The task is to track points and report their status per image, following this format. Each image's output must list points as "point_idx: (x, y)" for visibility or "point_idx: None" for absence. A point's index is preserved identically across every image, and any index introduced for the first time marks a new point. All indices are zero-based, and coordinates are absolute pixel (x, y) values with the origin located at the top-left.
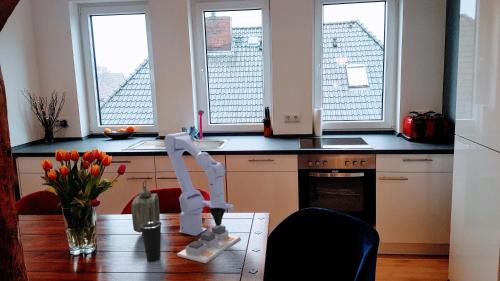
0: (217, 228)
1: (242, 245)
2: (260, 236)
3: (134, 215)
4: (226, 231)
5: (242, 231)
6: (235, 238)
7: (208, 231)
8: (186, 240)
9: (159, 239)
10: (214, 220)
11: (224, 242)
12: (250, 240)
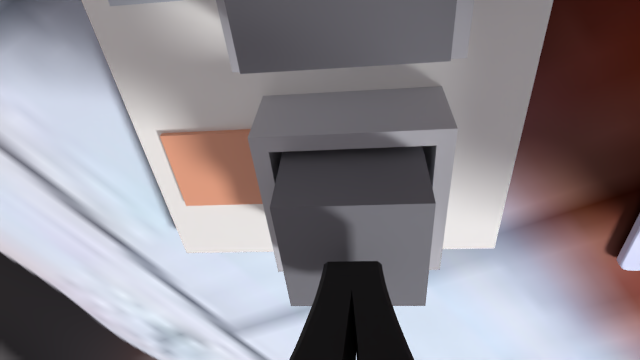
0: (329, 218)
1: (54, 144)
2: (112, 310)
3: None
4: (273, 245)
5: (287, 325)
6: (183, 207)
7: (390, 51)
8: None
9: None
10: (395, 336)
11: (191, 82)
12: (102, 243)
